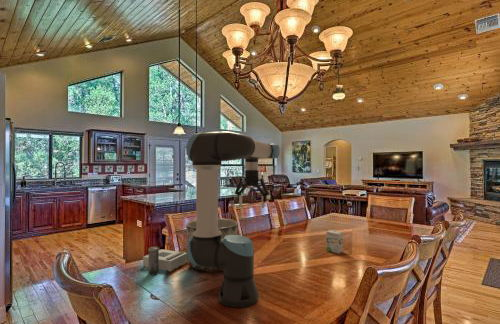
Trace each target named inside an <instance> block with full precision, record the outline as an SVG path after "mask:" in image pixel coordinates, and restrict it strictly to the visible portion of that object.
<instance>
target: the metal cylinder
mask: <svg viewBox="0 0 500 324" xmlns="http://www.w3.org/2000/svg"><path fill="white" fill-rule="evenodd" d="M159 250H160V247H159V246H151V247H148V255H149V268H148V267H147V268H148V270H147V273H149V274H156V275H158V274H159V273H160V272H159V271H160V270H159ZM157 273H158V274H157ZM149 274H148V275H149Z"/></svg>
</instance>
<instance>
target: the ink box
mask: <svg viewBox="0 0 500 324" xmlns="http://www.w3.org/2000/svg"><path fill="white" fill-rule="evenodd" d="M343 234H344V233H343V232H342V231H339V230H338V231H337V230H334V229H333V230H332V229H329V230H327V231H326V233H325V235H326V238H325V240H326V241H325V242H326V247H325V248H326V252H332V253H335V254H341V253H343V251H344V250H343V248H344V245H343V243H344V242H343V241H344V238H343V237H344V235H343Z"/></svg>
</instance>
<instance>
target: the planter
mask: <svg viewBox="0 0 500 324" xmlns="http://www.w3.org/2000/svg"><path fill="white" fill-rule="evenodd" d="M185 225H186V242H187V244H188V241H189V239H190V238H191V237H192V236H193V233H194V231H195V230H196V229H197V221H196V219H194V220H190V221H188V222H187V223H185ZM238 226H239V223H238V221H236V220H234V219H230V218H219V217H218V229H219V230H220V231H221V232H222V238H223V239H224V237H225V236H227V235H238ZM187 244H186V245H187ZM187 263H188V264H189V266H190V267H191V268H193V269H196V270H199V271H202V272H208V271H212V272H219V271H222V270H221V269H214V268H207V267H199V266H196V265H193V264H192V263H191V262H190V261H189V259H188V258H187Z"/></svg>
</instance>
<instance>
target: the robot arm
mask: <svg viewBox="0 0 500 324" xmlns="http://www.w3.org/2000/svg"><path fill="white" fill-rule="evenodd" d="M185 154H186V157H187V159H188V160H189V161H191V162H192V167H193V168H194V169H195V170H196V172H195V174H196V176H195V177H196V182H195V183H196V185H195V187H196V189H195V190H196V196H195V197H196V198H195V200H196V202H195V203H196V214H195V216H196V219H195V220H196V221H197V229H196V230H195V231H194V233H193V236H192V237H191V238H190V239H189V241H188V244H186V248H187V251H186V253H187V260H188V259H189V261H190V262H191V263H192V264H193V265H196V266H199V267H207V268H214V269H221V270H220V271H223V276H222V277H223V278H222V283H221V285H220V289H219V291H218V301H219V303H220V302H221V303H222V304H221V303H220V304H221V305H223V304H224V305H223V306H225V305H226V306H225V307H228V306H230V307H229V308H233V307H242V308H247V307H246V306H248V307H251V306H252V304H253V305H255V304H257V301H258V300H259V292H258V287H257V285H256V281H255V279H254V278H255V277H254V275H255V273H254V272H255V271H254V267H255V266H254V264H255V262H254V259H255V258H254V256H255V250H254V242H253V241H252V240H251V239H250V237H248V236H244V235H239V234H237V235H227V236H225V237H224V239H223V238H222V232H221V231H220V230H219V229H218V218H219V202H218V201H219V197H218V195H219V186H218V185H219V182H218V181H219V178H218V177H219V173H218V170H219V169H220V168H221V167H222V162H230V161H231V162H232V161H235V160H245V161H244V169H245V170H244V178H243V177H240V178H239V183H238V185H237V187H236V189H235V191H234V194H235V195H237V201H238V207H239V208H241V207H243V192H244V191H245V190H246V188H247V187H255V188H256V189H257V190H258V192H259V193H260V194H261V195H262V196H261V209H265V207H266V206H265V203H266V202H267V197H268V196H269V195H270V192H269V190H268V188H267V184H266V183H265V179H264V177H263V178H259V159H260V160H261V159H263V160H264V159H271V160H272V159H278V158H279V157H280V145H279V144H277V143H265V142H263V141H258V140H255V139H253V138H252V137H251V136H248V135H245V134H242V133H237V132H235V131H226V130H224V131H208V132H207V131H202V132H195V133H193V134H191V136H190V137H189V138H188V140H187V143H186V148H185ZM244 182H245V183H244ZM259 183H260V184H259ZM242 185H243V186H242ZM260 185H261V186H262V187H261V186H260ZM254 303H255V304H254ZM250 305H251V306H250Z"/></svg>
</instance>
